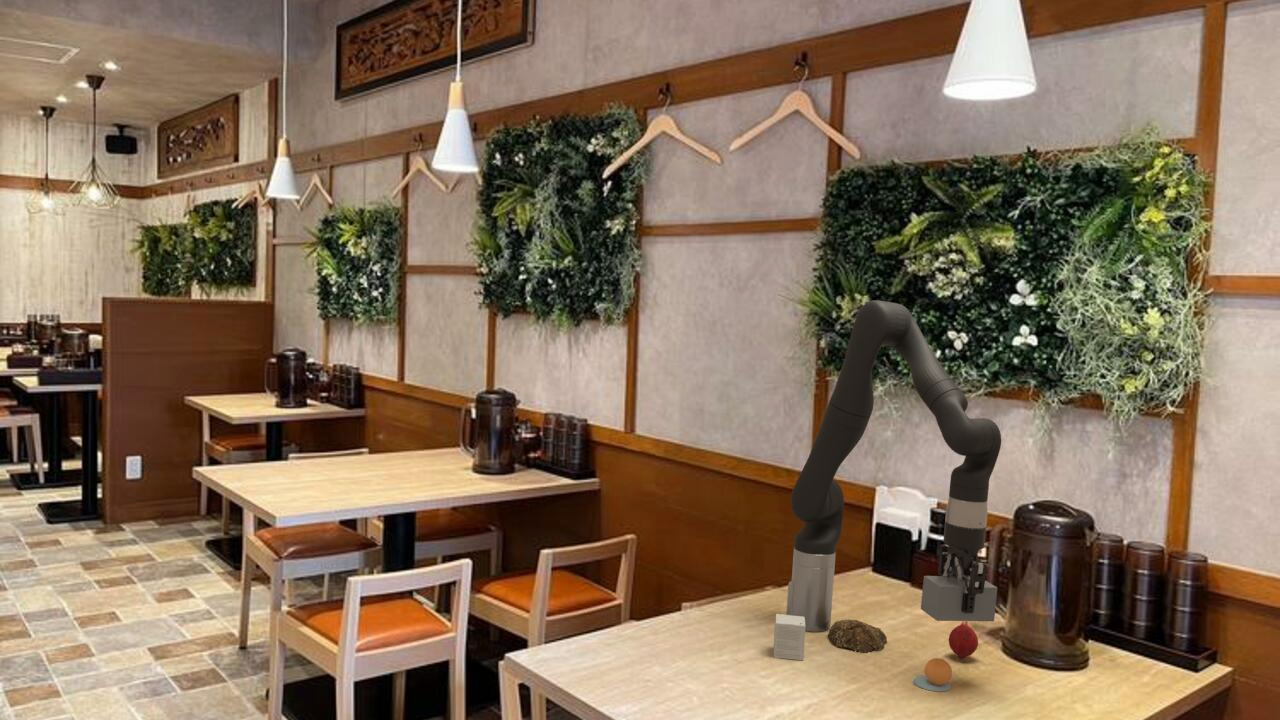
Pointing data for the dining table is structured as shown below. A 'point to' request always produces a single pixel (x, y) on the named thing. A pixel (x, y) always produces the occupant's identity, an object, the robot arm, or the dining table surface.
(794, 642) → the product box
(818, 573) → the robot arm
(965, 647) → the onion
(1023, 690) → the dining table surface
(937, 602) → the gray rectangular prism
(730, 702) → the dining table surface
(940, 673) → the ball
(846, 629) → the bread roll
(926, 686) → the spot
